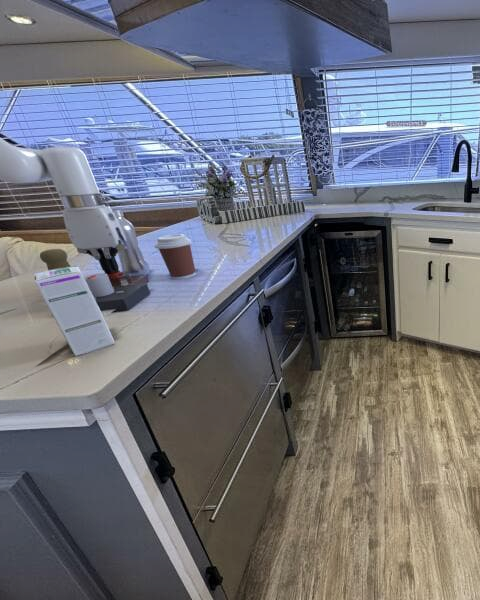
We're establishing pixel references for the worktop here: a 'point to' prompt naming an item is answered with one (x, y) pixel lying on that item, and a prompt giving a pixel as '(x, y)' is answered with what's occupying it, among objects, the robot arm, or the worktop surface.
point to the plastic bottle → (130, 249)
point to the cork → (54, 258)
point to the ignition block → (128, 279)
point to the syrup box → (74, 309)
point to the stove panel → (123, 297)
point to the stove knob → (99, 284)
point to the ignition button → (114, 274)
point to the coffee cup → (177, 255)
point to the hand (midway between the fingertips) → (112, 272)
